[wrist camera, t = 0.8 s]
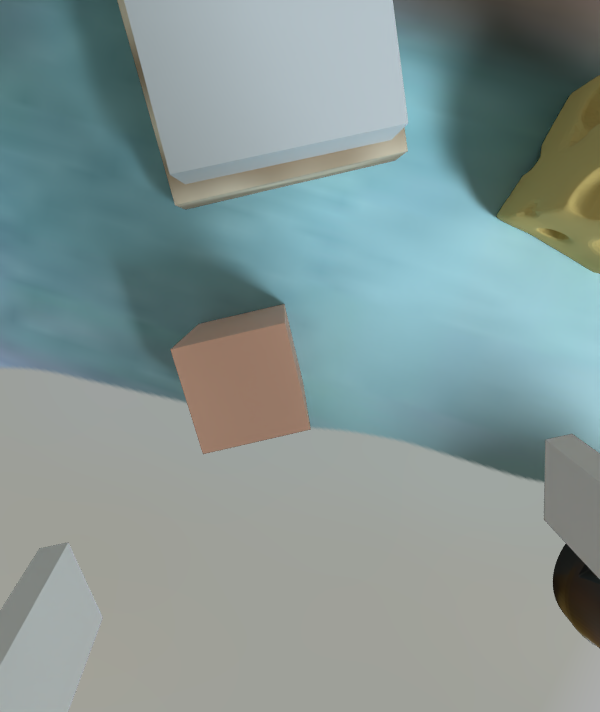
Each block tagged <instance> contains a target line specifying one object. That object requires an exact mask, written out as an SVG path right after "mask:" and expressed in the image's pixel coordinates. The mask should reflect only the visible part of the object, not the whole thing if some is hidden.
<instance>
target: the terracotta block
mask: <svg viewBox="0 0 600 712" xmlns="http://www.w3.org/2000/svg"><path fill="white" fill-rule="evenodd" d="M170 350H171V353H172V356H173V359H174V363H175V366H176V369H177V372H178V375H179V379H180V382H181V385H182V388H183V391H184V395H185V398H186V401H187V404H188V407H189V411H190V414H191V417H192V420H193V423H194V426H195V430H196V433H197V436H198V439H199V442H200V446H201V449H202V452H203V454H206V453H210V452H214V451H219V450H223V449H227V448H231V447H236V446H241V445H245V444H249V443H253V442H258V441H262V440H267V439H271V438H276V437H280V436H284V435H288V434H293V433H297V432H302V431H306V430H310V422H309V416H308V410H307V403H306V397H305V391H304V385H303V381H302V376H301V372H300V368H299V364H298V360H297V355H296V351H295V347H294V343H293V339H292V334H291V330H290V326H289V322H288V318H287V313H286V309H285V305H284V304H282V305H278V306H273V307H269V308H265V309H260V310H256V311H252V312H248V313H243V314H239V315H235V316H231V317H226V318H222V319H218V320H213V321H209V322H205V323H201V324H198V325H197V326H196V327H195V328H194V329H193V330H191V331H190V332H189V333H188V334H187V335H186V336H185V337H184V338H183V339H181V340H180V341H179V342H178V343H177V344H176V345H175V346H174V347H173V348H171V349H170Z"/></svg>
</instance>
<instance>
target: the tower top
mask: <svg viewBox="0 0 600 712" xmlns="http://www.w3.org/2000/svg"><path fill="white" fill-rule="evenodd" d="M124 2H125V6H126V10H127V13H128V17H129V21H130V25H131V29H132V33H133V36H134V40H135V44H136V48H137V52H138V55H139V59H140V63H141V67H142V71H143V74H144V78H145V82H146V86H147V90H148V94H149V97H150V101H151V105H152V109H153V113H154V116H155V120H156V124H157V128H158V132H159V135H160V139H161V143H162V147H163V151H164V155H165V158H166V162H167V166H168V170H169V174H170V175H171V176H173V177H174V178H176V179H177V180H179V181H181V182H182V183H184V184H189V183H194V182H199V181H203V180H208V179H213V178H217V177H222V176H226V175H231V174H236V173H240V172H245V171H250V170H254V169H259V168H264V167H268V166H273V165H278V164H282V163H287V162H292V161H296V160H301V159H306V158H310V157H315V156H320V155H324V154H329V153H334V152H338V151H343V150H347V149H352V148H357V147H361V146H366V145H371V144H375V143H380V142H385V141H389V140H392V139H393V138H394V137H395V136H396V135H397V134H398V133H399V132H400V131H401V130H402V129H403V128H404V127H405V126H406V125H407V124H408V117H407V109H406V101H405V93H404V85H403V78H402V70H401V62H400V54H399V46H398V39H397V31H396V23H395V15H394V7H393V0H124Z"/></svg>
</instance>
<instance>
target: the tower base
mask: <svg viewBox="0 0 600 712" xmlns="http://www.w3.org/2000/svg"><path fill="white" fill-rule="evenodd" d="M117 1H118V5H119V8H120V12H121V15H122V19H123V22H124V26H125V30H126V33H127V37H128V40H129V44H130V47H131V51H132V54H133V58H134V61H135V65H136V69H137V72H138V76H139V79H140V83H141V86H142V90H143V93H144V97H145V100H146V104H147V107H148V111H149V115H150V118H151V122H152V125H153V129H154V132H155V136H156V139H157V143H158V146H159V150H160V154H161V157H162V161H163V164H164V168H165V171H166V175H167V178H168V182H169V185H170V189H171V193H172V196H173V200H174V203H175V206H178V207H181V208H183V209H190V208H194V207H199V206H203V205H207V204H211V203H216V202H220V201H224V200H228V199H233V198H237V197H241V196H245V195H250V194H254V193H258V192H263V191H267V190H271V189H275V188H280V187H284V186H288V185H292V184H297V183H301V182H305V181H310V180H314V179H318V178H322V177H327V176H331V175H335V174H339V173H344V172H348V171H352V170H357V169H361V168H365V167H369V166H374V165H378V164H382V163H386V162H391V161H395V160H396V159H398V158H399V157H400V156H402V155H403V154H404V153H406V152H407V151H408V150H407V143H406V136H405V130H404V128H403V129H402V130H401V131H400V132H399V133H398V134H397V135H396V136H395V137H394V138H393V139H392V140H389V141H385V142H380V143H375V144H371V145H366V146H361V147H357V148H352V149H347V150H343V151H338V152H334V153H329V154H324V155H320V156H315V157H310V158H306V159H301V160H296V161H292V162H287V163H282V164H278V165H273V166H268V167H264V168H259V169H254V170H250V171H245V172H240V173H236V174H231V175H226V176H222V177H217V178H213V179H208V180H203V181H199V182H194V183H189V184H184V183H182V182H181V181H179V180H177V179H176V178H174V177H173V176H171V175H170V174H169V170H168V166H167V162H166V158H165V155H164V151H163V147H162V143H161V139H160V135H159V132H158V128H157V124H156V120H155V116H154V113H153V109H152V105H151V101H150V97H149V94H148V90H147V86H146V82H145V78H144V74H143V71H142V67H141V63H140V59H139V55H138V52H137V48H136V44H135V40H134V36H133V33H132V29H131V25H130V21H129V17H128V13H127V10H126V6H125V2H124V0H117Z"/></svg>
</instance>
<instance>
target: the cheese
mask: <svg viewBox="0 0 600 712" xmlns="http://www.w3.org/2000/svg"><path fill="white" fill-rule="evenodd" d="M497 218H498V219H500V220H501V221H503V222H505V223H507V224H509V225H511V226H513V227H516V228H518V229H520V230H522V231H524V232H527V233H528V234H530V235H532V236H534V237H536V238H538V239H539V240H541V241H542V242H544V243H546V244H547V245H549V246H551V247H553V248H554V249H556V250H558V251H559V252H561V253H563V254H564V255H566V256H568V257H569V258H571V259H573V260H574V261H576V262H578V263H579V264H581V265H582V266H584V267H585V268H587V269H589V270H591V271H592V272H596V273H599V274H600V75H599V76H597V77H596V78H594V79H593V80H591V81H589V82H588V83H586V84H585V85H584V86H582V87H580V88H579V89H577V90H576V91H574V92H573V93H572V94H571V95H570V96H569V98H568V99H567V101H566V103H565V104H564V106H563V108H562V110H561V111H560V113H559V115H558V117H557V118H556V120H555V122H554V124H553V125H552V127H551V129H550V131H549V132H548V134H547V136H546V138H545V140H544V142H543V144H542V148H541V156H540V158H539V160H538V162H537V163H536V164H535V166H534V167H533V168H532V169H531V170H530V171H529V172H528V173H526V174H525V175H523V176H522V178H521V179H520V181H519V182H518V184H517V185H516V187H515V188H514V190H513V191H512V193H511V194H510V196H509V197H508V199H507V200H506V201H505V203H504V204H503V206H502V207H501V209H500V210H499V212H498V214H497Z"/></svg>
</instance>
